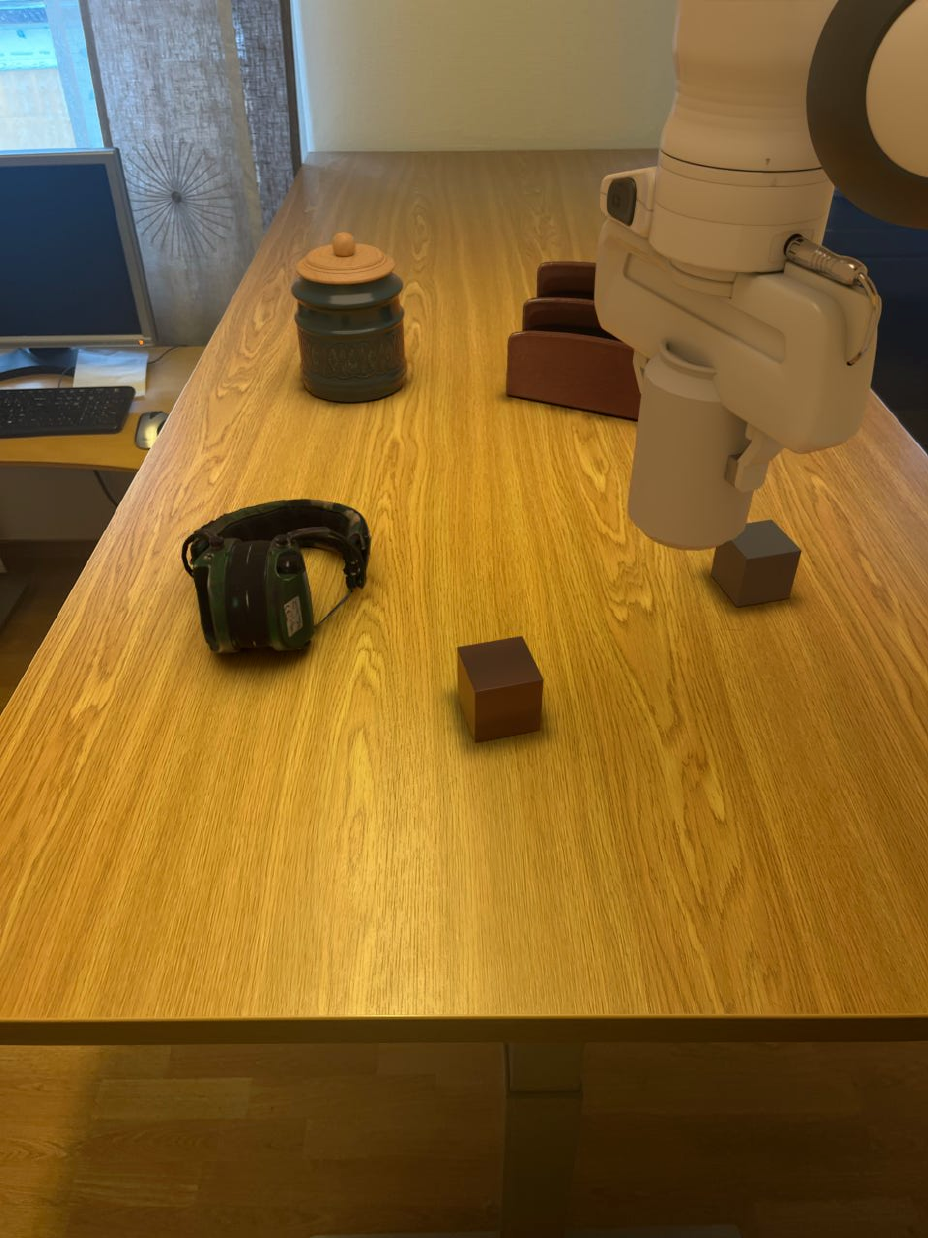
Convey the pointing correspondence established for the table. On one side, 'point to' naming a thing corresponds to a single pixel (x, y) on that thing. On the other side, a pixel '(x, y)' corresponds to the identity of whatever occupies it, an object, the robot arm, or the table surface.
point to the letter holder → (570, 347)
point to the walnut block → (499, 688)
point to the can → (685, 458)
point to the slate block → (756, 564)
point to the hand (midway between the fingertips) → (696, 451)
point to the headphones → (270, 570)
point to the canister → (349, 322)
